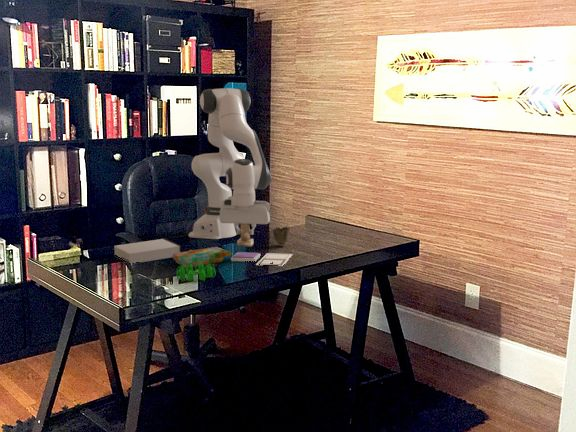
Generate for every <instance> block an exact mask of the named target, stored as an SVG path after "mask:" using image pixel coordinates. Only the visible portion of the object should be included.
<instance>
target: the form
mask: <svg viewBox="0 0 576 432" xmlns="http://www.w3.org/2000/svg"><path fill="white" fill-rule="evenodd" d="M293 255H294V254H293V253H273V252H267V253H265V255H264V256H263V257H262V258H261V259H260V260H258V261H257V263H255V266H263V265H278V266H277V267H284V266H285V265H286V264H287V262H288V261H289V260H290V259H291V257H292V256H293ZM289 258H290V259H289ZM272 262H273V264H270V263H272ZM259 264H260V265H259ZM284 264H285V265H284ZM283 265H284V266H283Z"/></svg>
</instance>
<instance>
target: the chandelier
mask: <svg viewBox="0 0 576 432" xmlns="http://www.w3.org/2000/svg"><path fill="white" fill-rule="evenodd" d="M192 261H195V267H192V265H191V264H190V263H189V264H188V265H187V267H185V266H183V265H179V266H177V268H176V278H177V279H178V280H179V281H180V280H187V281H188V282H189V283H191V282H192V281H194V280H195V275H197V274H198V279H199V281H202V282H205V280H206V279H208V278H211V279H214V278H215V276H216V274H217V273H216V268H215V266H214V265H213V264H212V263H211V264H206V265H203V263H200V264H199V265H198V266H196V261H199V259H192Z"/></svg>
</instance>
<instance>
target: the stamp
mask: <svg viewBox="0 0 576 432" xmlns="http://www.w3.org/2000/svg"><path fill="white" fill-rule="evenodd" d="M239 225H240V229H241V234H240V238H239V239H237V241H236V244H237V246H236V247H238V248H240V247H241V248H252V247H253V246H254V238H251V235H249V230H251V229H250V224H239Z"/></svg>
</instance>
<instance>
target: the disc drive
mask: <svg viewBox="0 0 576 432" xmlns="http://www.w3.org/2000/svg"><path fill="white" fill-rule="evenodd" d="M180 252H183V251H182V245H181V244H179V243H176V242H174V241H172V240H170V239H167V238H165V237H163V238H160V239H159V238H158V239H154V240H153V239H152V240H147V241H146V240H145V241H138V242H131V243H126V244H125V243H124V244H118V245H114V256H115V255H117V256H118V257H120V258H122V259H123V260H125V261H127V262H129V263H134V264H137V263H136V262H140V263H145V262H151V261H157V260H163V259H169V258H170V259H171V258H173V254H174V253H180ZM118 257H117V258H118ZM120 258H119V259H120ZM122 259H121V260H122ZM123 260H122V261H123ZM125 261H124V262H125ZM127 262H126V263H127ZM129 263H128V264H129Z"/></svg>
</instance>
